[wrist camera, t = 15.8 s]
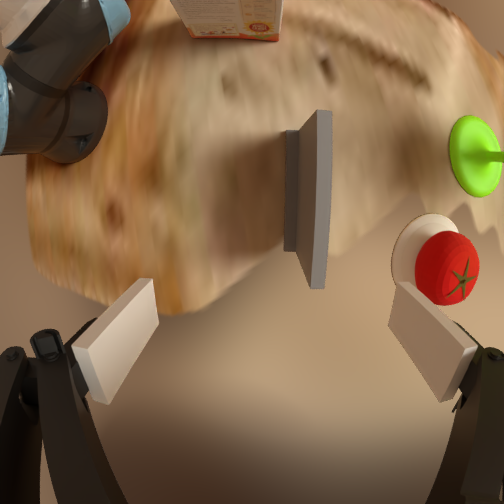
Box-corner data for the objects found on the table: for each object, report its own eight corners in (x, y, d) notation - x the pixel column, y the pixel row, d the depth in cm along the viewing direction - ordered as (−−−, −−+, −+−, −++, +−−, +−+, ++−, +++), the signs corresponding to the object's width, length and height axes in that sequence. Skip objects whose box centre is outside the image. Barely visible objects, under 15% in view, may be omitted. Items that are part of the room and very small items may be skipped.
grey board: (286, 130, 38) (298, 108, 23) (319, 132, 38) (349, 113, 23) (283, 249, 43) (293, 289, 28) (315, 250, 43) (340, 288, 28)
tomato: (397, 287, 43) (426, 315, 33) (417, 218, 39) (453, 232, 29) (442, 294, 43) (472, 319, 33) (461, 232, 40) (497, 248, 29)
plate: (396, 209, 40) (399, 210, 39) (464, 216, 40) (467, 217, 39) (384, 300, 45) (386, 303, 44) (449, 296, 44) (452, 298, 43)
